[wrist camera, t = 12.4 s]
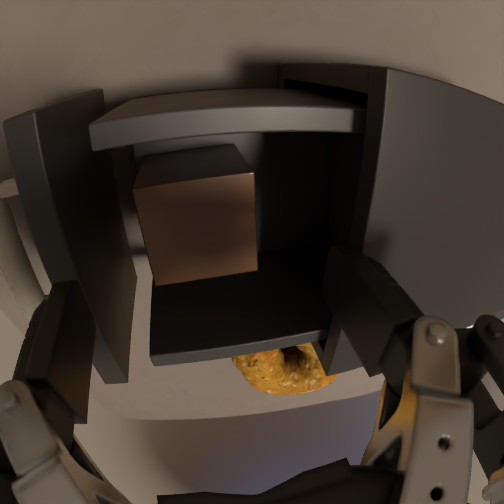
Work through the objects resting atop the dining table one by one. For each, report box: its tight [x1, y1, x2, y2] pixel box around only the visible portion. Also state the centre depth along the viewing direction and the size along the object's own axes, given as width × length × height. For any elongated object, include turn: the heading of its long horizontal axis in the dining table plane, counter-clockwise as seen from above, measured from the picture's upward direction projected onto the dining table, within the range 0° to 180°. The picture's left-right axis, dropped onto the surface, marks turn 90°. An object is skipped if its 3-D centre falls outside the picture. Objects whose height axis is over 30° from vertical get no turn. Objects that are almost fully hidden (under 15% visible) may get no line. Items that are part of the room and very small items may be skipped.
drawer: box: [0, 89, 368, 384], centre depth 13 cm, size 18×12×8 cm, turn 90°
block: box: [132, 144, 258, 286], centre depth 13 cm, size 4×4×4 cm
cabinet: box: [278, 63, 504, 376], centre depth 15 cm, size 15×13×10 cm
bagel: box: [232, 343, 338, 395], centre depth 24 cm, size 10×11×5 cm
